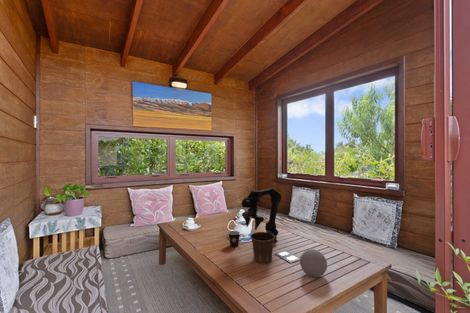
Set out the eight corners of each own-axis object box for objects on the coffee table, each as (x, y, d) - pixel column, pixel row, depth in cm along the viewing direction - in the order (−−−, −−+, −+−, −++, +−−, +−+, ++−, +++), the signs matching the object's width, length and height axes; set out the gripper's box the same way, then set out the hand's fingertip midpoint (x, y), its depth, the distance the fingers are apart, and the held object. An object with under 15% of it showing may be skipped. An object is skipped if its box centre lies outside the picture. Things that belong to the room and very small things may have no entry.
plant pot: (274, 266, 147) (274, 241, 146) (249, 264, 150) (249, 239, 150) (275, 255, 163) (275, 232, 162) (252, 253, 166) (252, 231, 166)
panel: (285, 251, 169) (285, 250, 169) (301, 259, 155) (301, 258, 155) (274, 254, 164) (274, 253, 164) (290, 263, 150) (290, 262, 150)
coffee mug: (226, 246, 179) (226, 233, 179) (232, 242, 187) (231, 230, 187) (240, 249, 174) (239, 235, 174) (245, 244, 181) (244, 232, 181)
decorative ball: (295, 275, 135) (295, 250, 135) (307, 266, 145) (307, 243, 145) (320, 286, 124) (319, 258, 124) (331, 275, 135) (331, 250, 135)
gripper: (237, 205, 176) (235, 225, 175) (254, 209, 162) (252, 232, 161) (248, 205, 183) (245, 225, 182) (265, 209, 169) (263, 231, 168)
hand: (251, 228), depth 173 cm, fingers open, 9 cm apart
